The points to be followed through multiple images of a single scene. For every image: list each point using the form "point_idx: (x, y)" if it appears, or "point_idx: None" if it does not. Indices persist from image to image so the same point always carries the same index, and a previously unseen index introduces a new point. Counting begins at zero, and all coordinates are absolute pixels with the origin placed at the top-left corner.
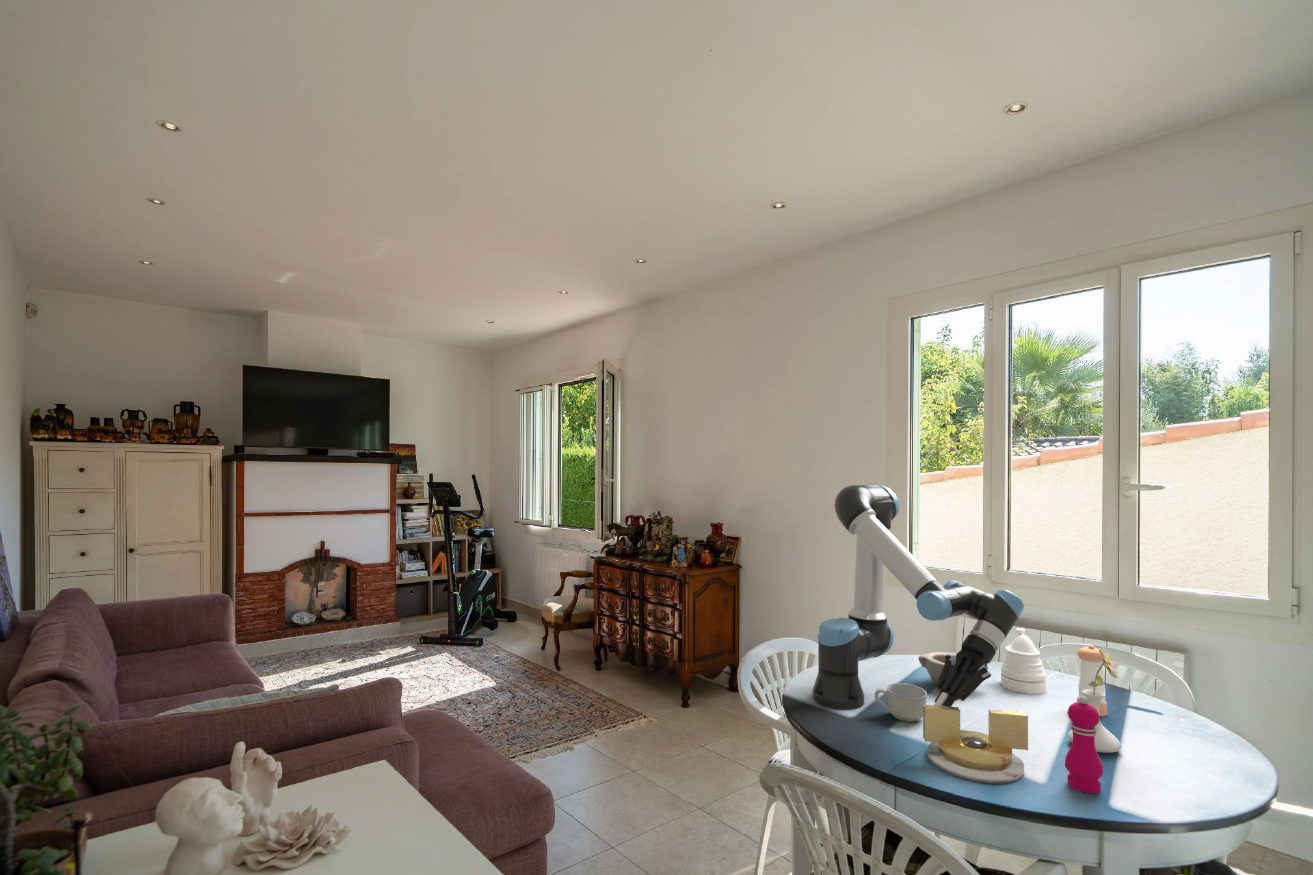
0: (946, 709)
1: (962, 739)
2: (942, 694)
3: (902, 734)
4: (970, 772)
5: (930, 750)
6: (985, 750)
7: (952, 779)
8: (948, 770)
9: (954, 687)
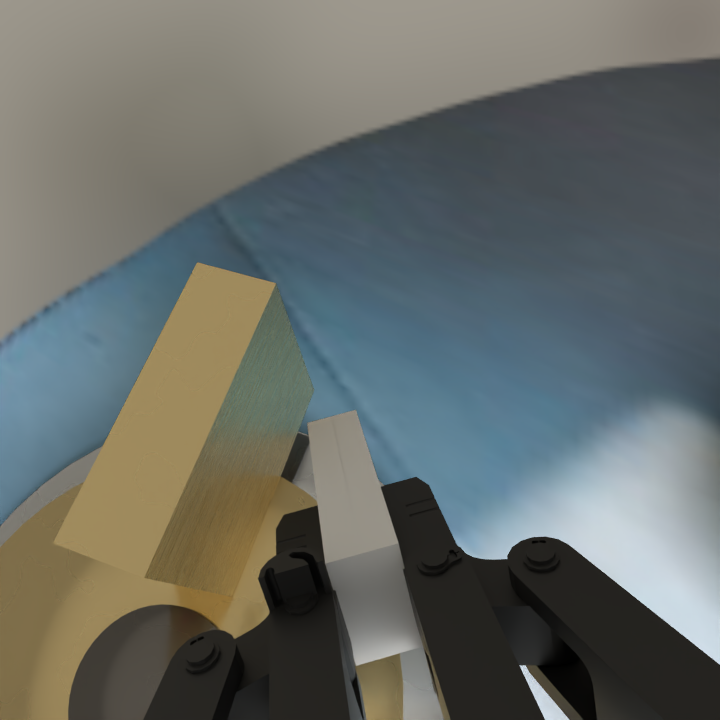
0: (122, 424)
1: (203, 619)
2: (373, 528)
3: (615, 453)
4: (23, 520)
5: (301, 446)
6: (41, 701)
7: (70, 435)
8: None
9: (298, 672)
